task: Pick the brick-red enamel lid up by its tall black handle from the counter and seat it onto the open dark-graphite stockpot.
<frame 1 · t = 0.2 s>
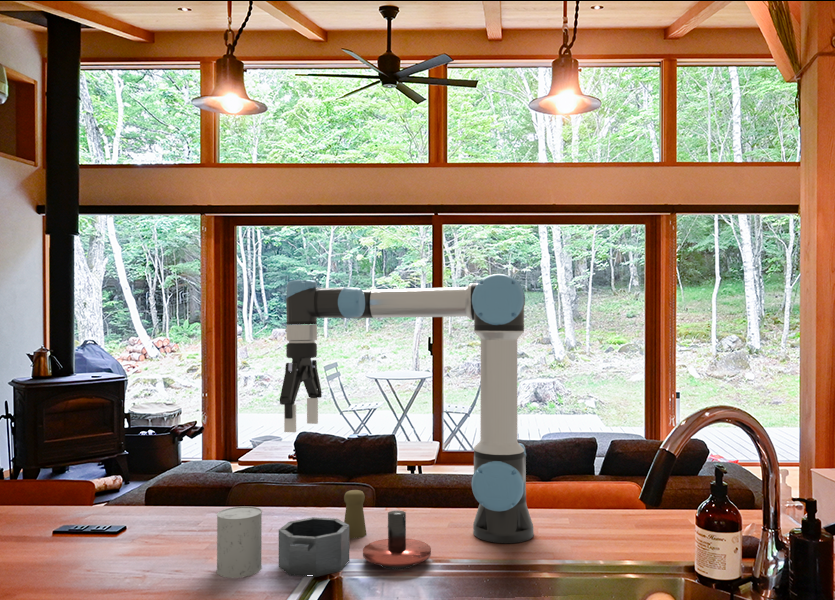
hand: (301, 427, 162), 28 cm above the kitchen counter, fingers open, 13 cm apart
grey concrete cylinder: (239, 570, 142), on the kitchen counter
pot: (314, 563, 145), on the kitchen counter
lid: (397, 562, 146), on the kitchen counter
cork: (354, 535, 165), on the kitchen counter
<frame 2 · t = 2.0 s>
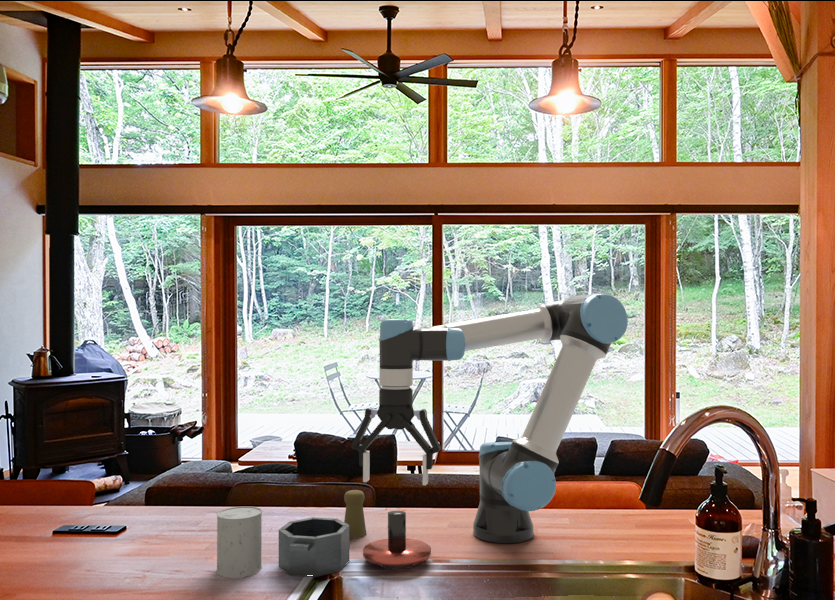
hand: (395, 482, 146), 18 cm above the kitchen counter, fingers open, 13 cm apart
nothing on the kitchen counter moved.
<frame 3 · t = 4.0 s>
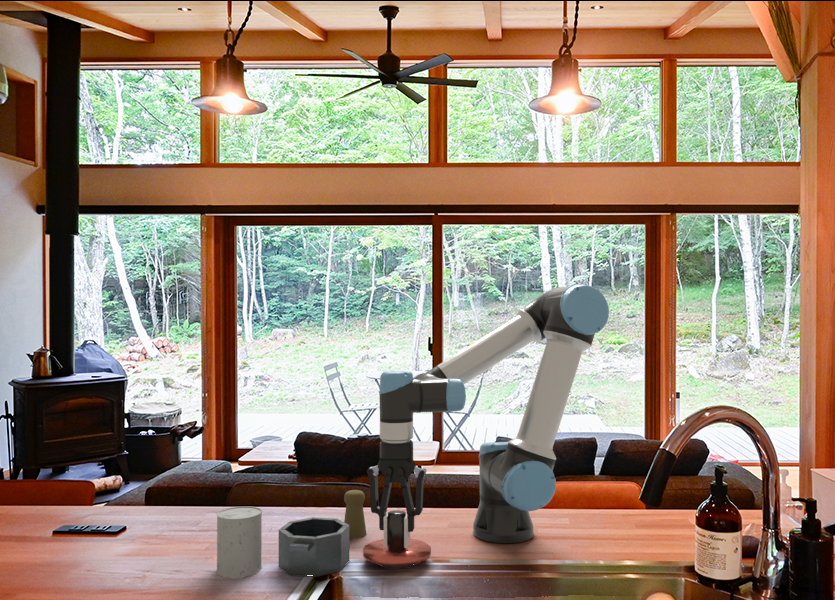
hand: (396, 545, 146), 4 cm above the kitchen counter, fingers closed on lid, 4 cm apart
lid: (397, 562, 146), on the kitchen counter, touching gripper
everything else where it was.
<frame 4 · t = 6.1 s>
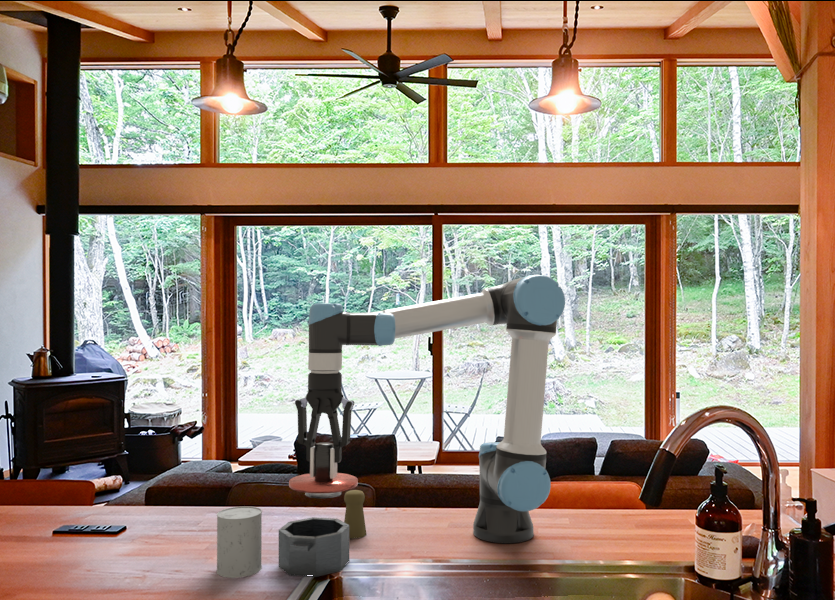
hand: (323, 476, 146), 19 cm above the kitchen counter, fingers closed on lid, 4 cm apart
lid: (323, 493, 146), point 15 cm above the kitchen counter, touching gripper
everything else where it was.
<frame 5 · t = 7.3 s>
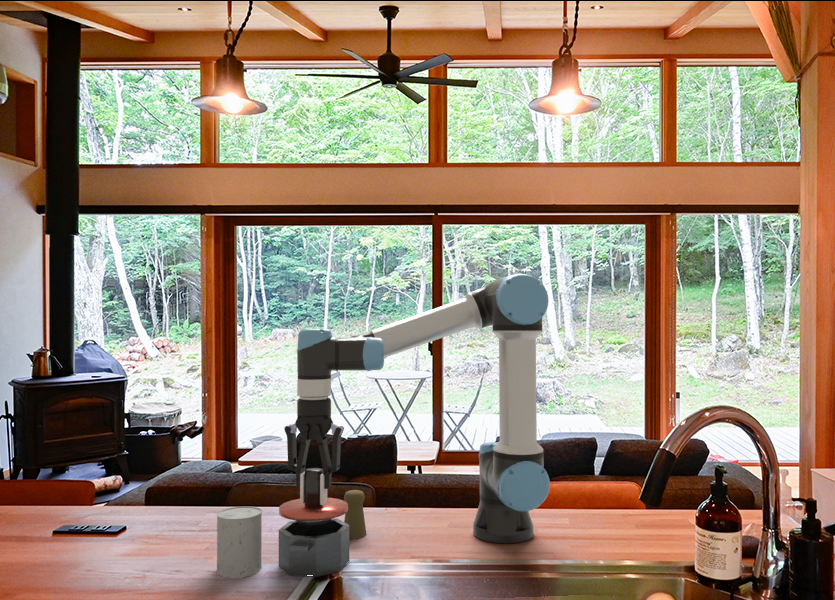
hand: (313, 502, 146), 14 cm above the kitchen counter, fingers closed on lid, 4 cm apart
lid: (313, 519, 146), point 10 cm above the kitchen counter, touching gripper
everything else where it was.
when the fingers open (11 cm above the kitchen counter, at t = 8.4 s): lid stays where it is, resting on pot.
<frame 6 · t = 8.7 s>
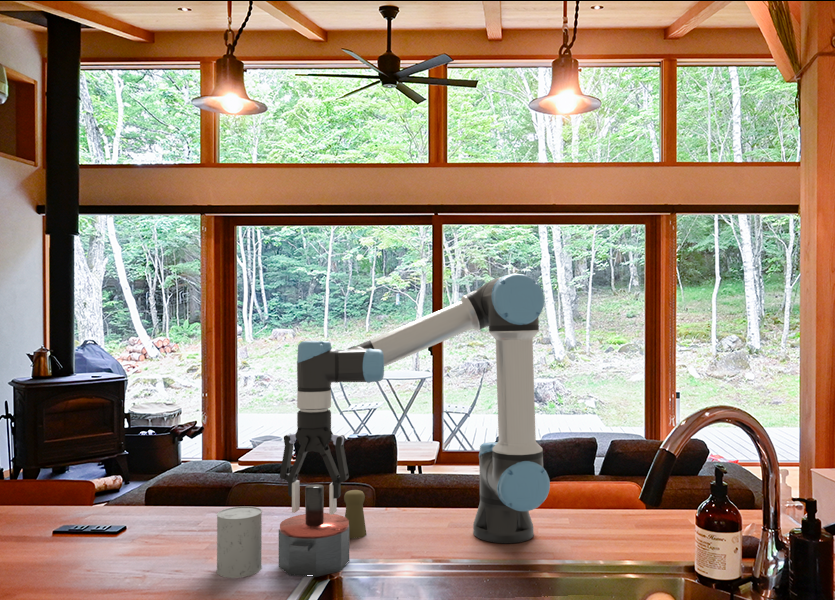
hand: (314, 511, 146), 11 cm above the kitchen counter, fingers open, 8 cm apart
lid: (314, 536, 146), point 6 cm above the kitchen counter, touching pot
everything else where it was.
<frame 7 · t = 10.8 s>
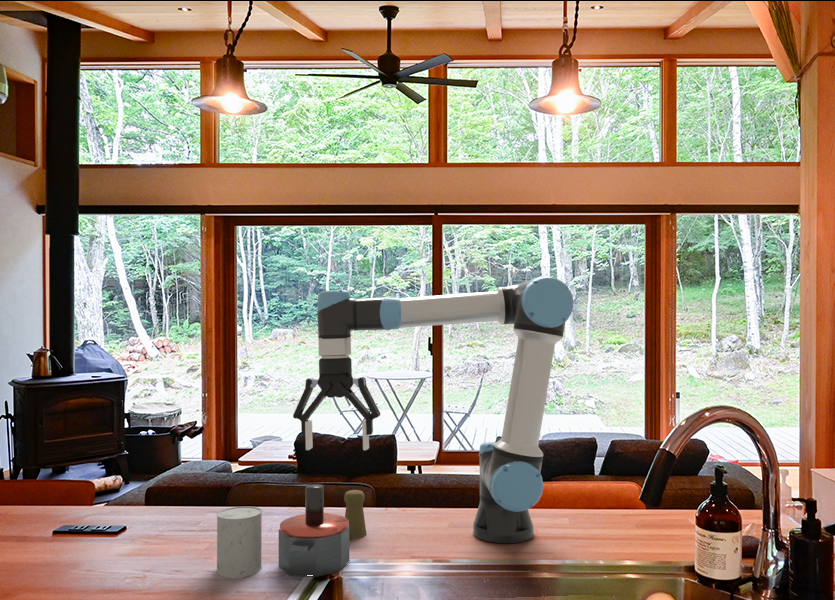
hand: (337, 449, 151), 24 cm above the kitchen counter, fingers open, 13 cm apart
nothing on the kitchen counter moved.
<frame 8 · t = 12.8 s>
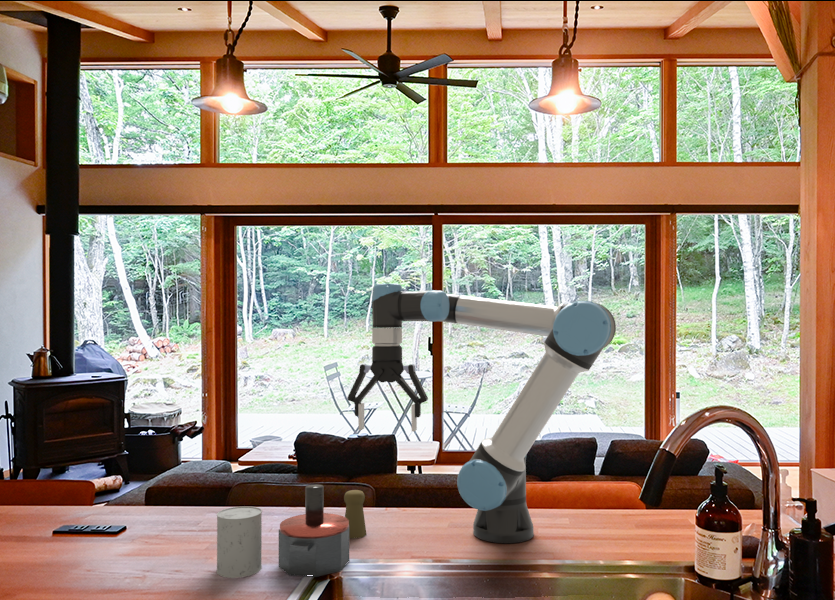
hand: (387, 430, 164), 27 cm above the kitchen counter, fingers open, 13 cm apart
nothing on the kitchen counter moved.
at the end: lid 0.1 cm off-centre on the pot, point 6.0 cm above the pot's base; lid tilted 0°; the gripper is holding nothing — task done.
